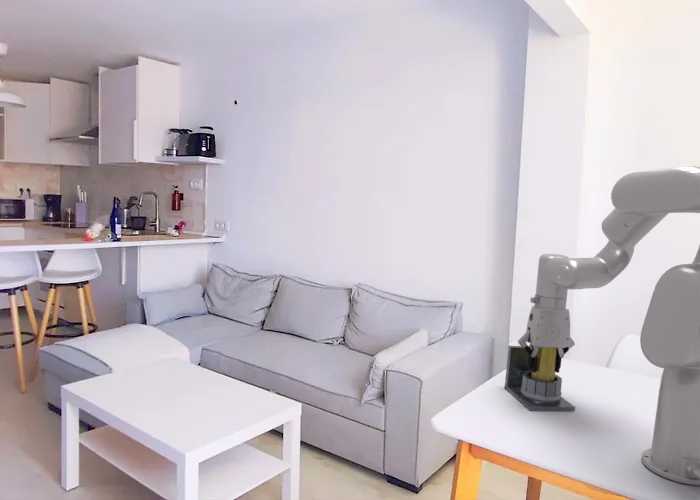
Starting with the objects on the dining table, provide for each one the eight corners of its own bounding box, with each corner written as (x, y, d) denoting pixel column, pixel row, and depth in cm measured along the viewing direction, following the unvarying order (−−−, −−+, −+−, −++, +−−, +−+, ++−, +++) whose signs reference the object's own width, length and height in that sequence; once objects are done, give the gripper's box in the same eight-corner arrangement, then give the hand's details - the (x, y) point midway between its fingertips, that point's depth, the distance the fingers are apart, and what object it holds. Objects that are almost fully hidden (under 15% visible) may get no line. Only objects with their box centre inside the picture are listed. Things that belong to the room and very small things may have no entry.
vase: (556, 390, 135) (562, 335, 133) (531, 387, 136) (536, 333, 135) (552, 382, 141) (557, 329, 139) (528, 379, 142) (533, 327, 141)
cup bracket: (574, 411, 134) (579, 365, 132) (529, 411, 132) (534, 364, 131) (545, 388, 149) (549, 346, 147) (504, 387, 147) (508, 345, 145)
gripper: (525, 305, 131) (518, 375, 133) (590, 306, 134) (582, 376, 136) (512, 298, 139) (506, 365, 141) (573, 300, 141) (566, 366, 143)
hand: (543, 370), depth 138 cm, fingers closed on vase, 5 cm apart
